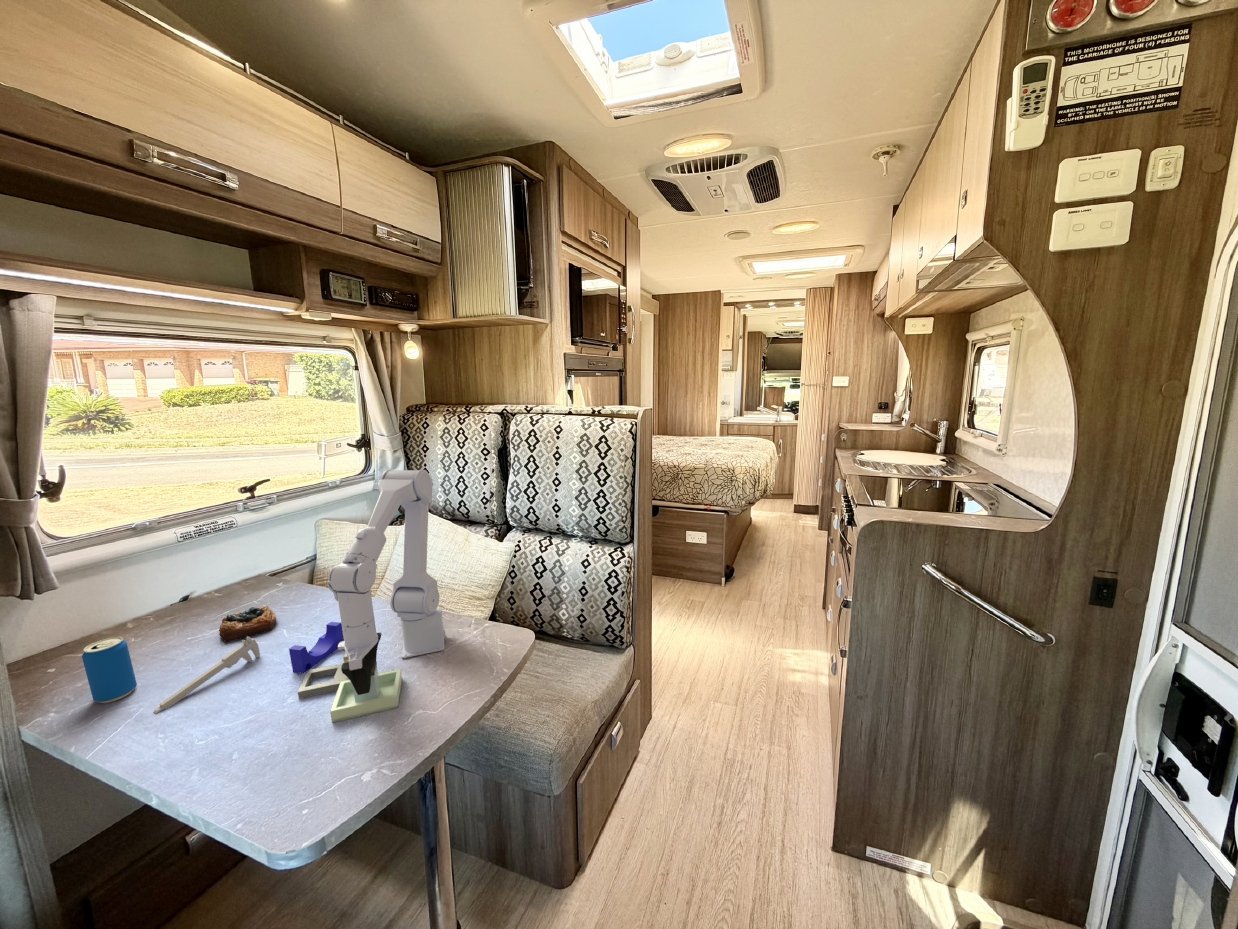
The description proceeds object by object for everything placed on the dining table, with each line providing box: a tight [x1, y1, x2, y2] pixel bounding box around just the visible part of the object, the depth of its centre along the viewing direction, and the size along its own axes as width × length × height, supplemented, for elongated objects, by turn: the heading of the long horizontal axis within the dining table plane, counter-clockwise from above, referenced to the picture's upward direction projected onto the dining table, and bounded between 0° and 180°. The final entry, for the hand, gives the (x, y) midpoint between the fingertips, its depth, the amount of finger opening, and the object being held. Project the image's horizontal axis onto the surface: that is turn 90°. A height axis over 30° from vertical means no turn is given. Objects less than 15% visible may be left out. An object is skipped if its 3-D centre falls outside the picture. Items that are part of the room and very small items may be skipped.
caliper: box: [152, 636, 261, 715], centre depth 104 cm, size 20×1×6 cm, turn 162°
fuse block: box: [297, 651, 349, 699], centre depth 103 cm, size 12×8×6 cm, turn 110°
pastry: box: [218, 605, 277, 644], centre depth 126 cm, size 11×12×6 cm
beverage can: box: [81, 636, 138, 704], centre depth 100 cm, size 6×6×12 cm
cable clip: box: [288, 621, 344, 674], centre depth 112 cm, size 12×4×6 cm, turn 168°
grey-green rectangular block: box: [353, 660, 380, 703], centre depth 96 cm, size 4×4×7 cm
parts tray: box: [329, 668, 403, 724], centre depth 97 cm, size 12×10×2 cm
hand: (366, 681), depth 96 cm, fingers open, 7 cm apart
